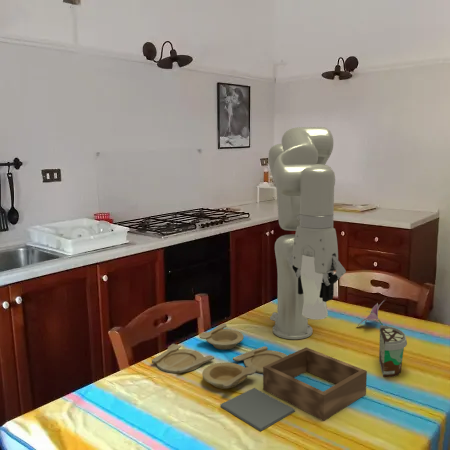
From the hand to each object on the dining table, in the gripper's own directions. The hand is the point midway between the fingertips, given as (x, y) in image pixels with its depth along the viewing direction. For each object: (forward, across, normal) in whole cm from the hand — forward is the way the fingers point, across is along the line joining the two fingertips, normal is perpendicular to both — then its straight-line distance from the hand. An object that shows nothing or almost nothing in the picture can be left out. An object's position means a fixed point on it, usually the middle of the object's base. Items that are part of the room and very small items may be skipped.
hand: (315, 296), depth 112 cm
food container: (+25, +7, +24) cm, 35 cm away
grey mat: (+24, -4, -16) cm, 29 cm away
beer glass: (+5, 0, 0) cm, 5 cm away
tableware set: (+25, -27, -6) cm, 37 cm away
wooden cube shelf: (+24, 0, 0) cm, 24 cm away
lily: (+25, -13, +46) cm, 54 cm away
